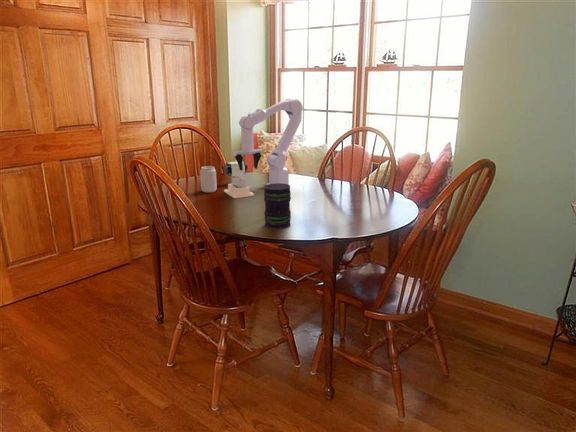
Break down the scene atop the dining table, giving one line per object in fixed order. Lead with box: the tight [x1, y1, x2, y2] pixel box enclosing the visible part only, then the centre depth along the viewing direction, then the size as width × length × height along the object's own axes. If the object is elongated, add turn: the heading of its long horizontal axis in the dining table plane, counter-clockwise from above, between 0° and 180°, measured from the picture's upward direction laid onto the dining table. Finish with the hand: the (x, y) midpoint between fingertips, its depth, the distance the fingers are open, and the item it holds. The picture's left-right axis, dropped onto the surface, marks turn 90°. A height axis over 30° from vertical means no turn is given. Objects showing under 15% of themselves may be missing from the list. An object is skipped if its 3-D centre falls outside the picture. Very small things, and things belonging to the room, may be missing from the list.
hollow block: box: [223, 183, 255, 199], centre depth 225 cm, size 10×14×4 cm
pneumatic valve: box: [223, 159, 248, 183], centre depth 245 cm, size 6×12×12 cm, turn 126°
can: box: [199, 165, 218, 194], centre depth 229 cm, size 8×8×12 cm
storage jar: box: [263, 183, 292, 230], centre depth 177 cm, size 10×10×15 cm
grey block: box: [231, 177, 246, 188], centre depth 224 cm, size 4×8×6 cm, turn 27°
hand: (248, 169), depth 232 cm, fingers open, 7 cm apart
